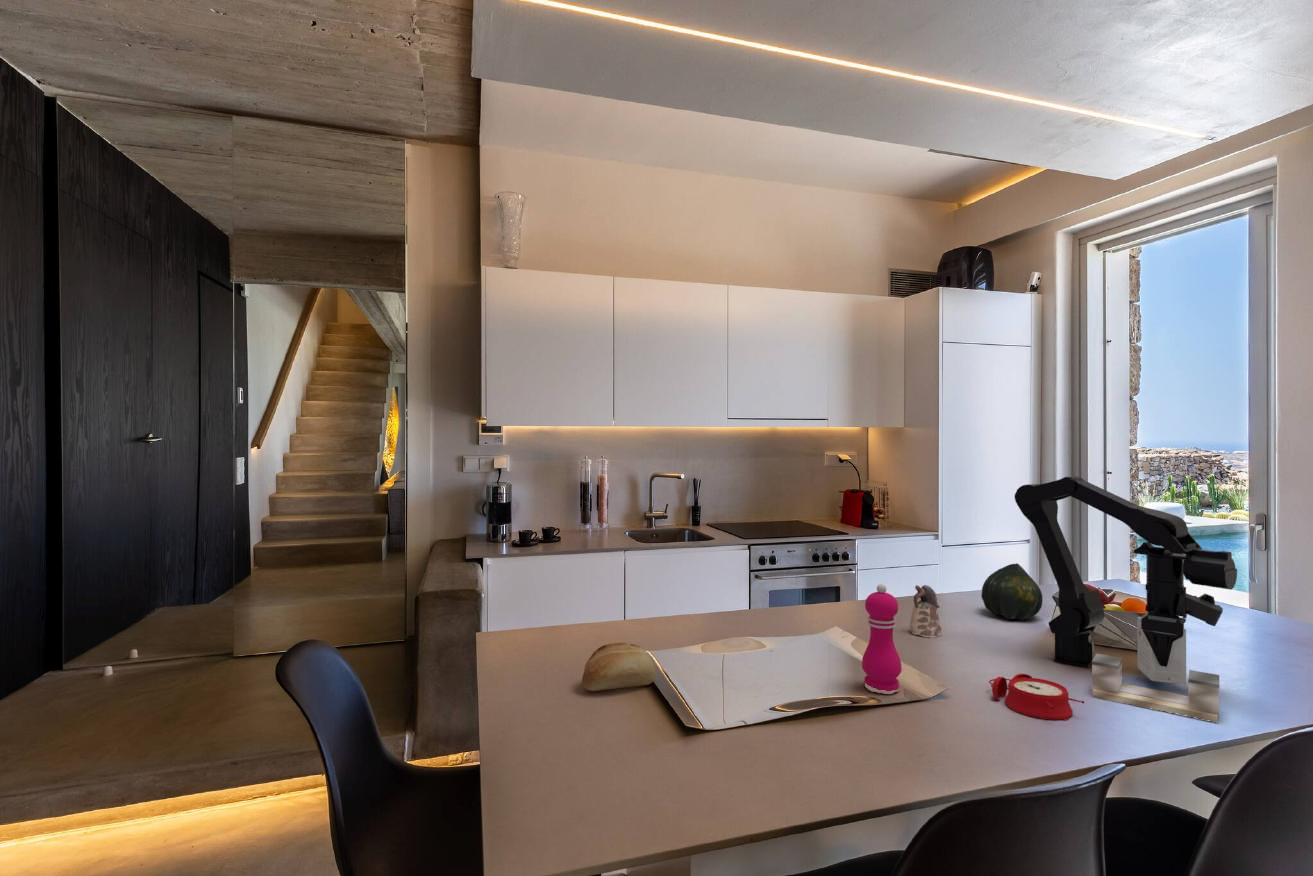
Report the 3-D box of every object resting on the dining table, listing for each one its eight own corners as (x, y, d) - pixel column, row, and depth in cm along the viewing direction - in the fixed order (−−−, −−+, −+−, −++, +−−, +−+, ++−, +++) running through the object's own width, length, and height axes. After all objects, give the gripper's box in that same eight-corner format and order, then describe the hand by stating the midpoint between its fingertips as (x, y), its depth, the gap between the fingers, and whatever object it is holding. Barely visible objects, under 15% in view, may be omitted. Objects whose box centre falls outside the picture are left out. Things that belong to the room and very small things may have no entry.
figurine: (946, 638, 158) (946, 588, 158) (916, 637, 158) (916, 588, 158) (934, 629, 165) (934, 582, 165) (905, 629, 165) (905, 582, 165)
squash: (980, 601, 172) (1020, 559, 171) (963, 591, 187) (1000, 552, 186) (1024, 639, 170) (1065, 598, 169) (1004, 626, 185) (1041, 587, 183)
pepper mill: (907, 688, 125) (907, 584, 125) (892, 699, 120) (892, 590, 120) (871, 679, 130) (871, 578, 130) (855, 689, 125) (855, 584, 125)
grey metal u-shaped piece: (1091, 696, 121) (1091, 662, 121) (1097, 684, 127) (1097, 652, 127) (1219, 724, 110) (1219, 686, 110) (1219, 709, 116) (1219, 673, 116)
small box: (1186, 685, 123) (1187, 629, 123) (1151, 681, 124) (1151, 626, 124) (1169, 671, 130) (1170, 618, 130) (1136, 667, 132) (1136, 615, 132)
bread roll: (573, 684, 127) (573, 643, 127) (643, 672, 134) (643, 633, 134) (591, 702, 118) (591, 658, 118) (664, 688, 125) (664, 646, 125)
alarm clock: (1048, 706, 108) (977, 658, 122) (1041, 739, 110) (972, 688, 123) (1093, 697, 112) (1019, 652, 126) (1085, 730, 113) (1013, 681, 127)
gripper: (1219, 594, 115) (1219, 683, 115) (1219, 577, 129) (1219, 657, 129) (1140, 585, 122) (1141, 668, 122) (1148, 570, 136) (1148, 645, 136)
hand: (1164, 659), depth 127 cm, fingers closed on small box, 9 cm apart
